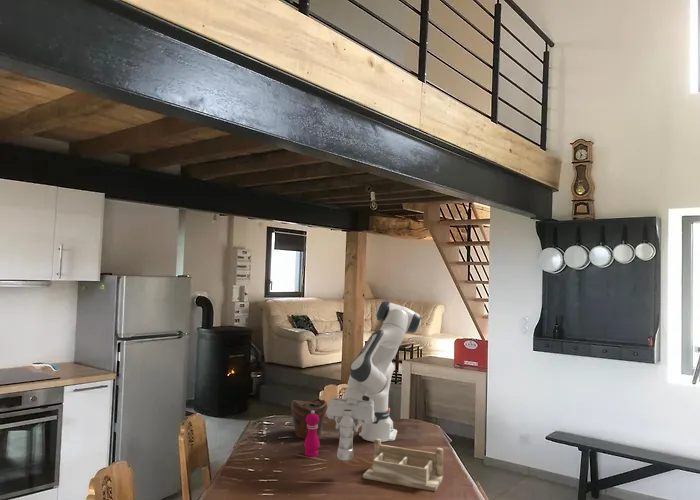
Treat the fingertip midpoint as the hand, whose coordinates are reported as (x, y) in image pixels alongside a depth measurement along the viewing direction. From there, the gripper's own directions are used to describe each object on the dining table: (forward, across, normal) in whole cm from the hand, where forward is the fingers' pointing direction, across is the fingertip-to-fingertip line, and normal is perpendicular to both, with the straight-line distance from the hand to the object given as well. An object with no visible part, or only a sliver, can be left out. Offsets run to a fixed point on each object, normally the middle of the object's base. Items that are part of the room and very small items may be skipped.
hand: (346, 429), depth 221 cm
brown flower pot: (-18, -33, +47) cm, 60 cm away
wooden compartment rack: (+9, +23, +18) cm, 30 cm away
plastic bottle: (+9, 0, +9) cm, 12 cm away
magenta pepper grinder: (0, -22, +28) cm, 36 cm away
